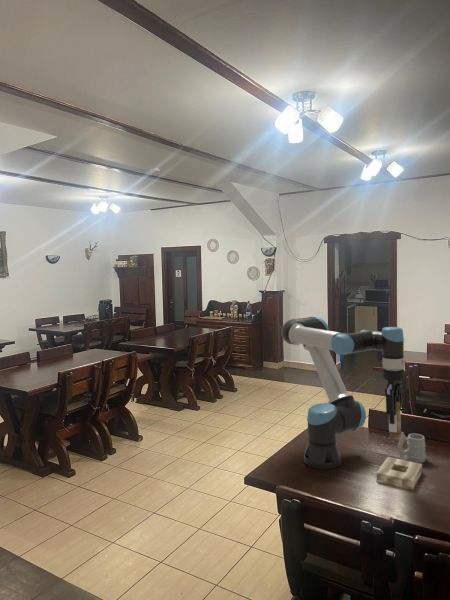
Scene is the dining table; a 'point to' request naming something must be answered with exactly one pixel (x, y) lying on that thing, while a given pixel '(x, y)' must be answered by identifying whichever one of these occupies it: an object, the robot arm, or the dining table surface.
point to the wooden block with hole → (399, 473)
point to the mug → (413, 447)
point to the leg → (397, 434)
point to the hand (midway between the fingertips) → (394, 429)
